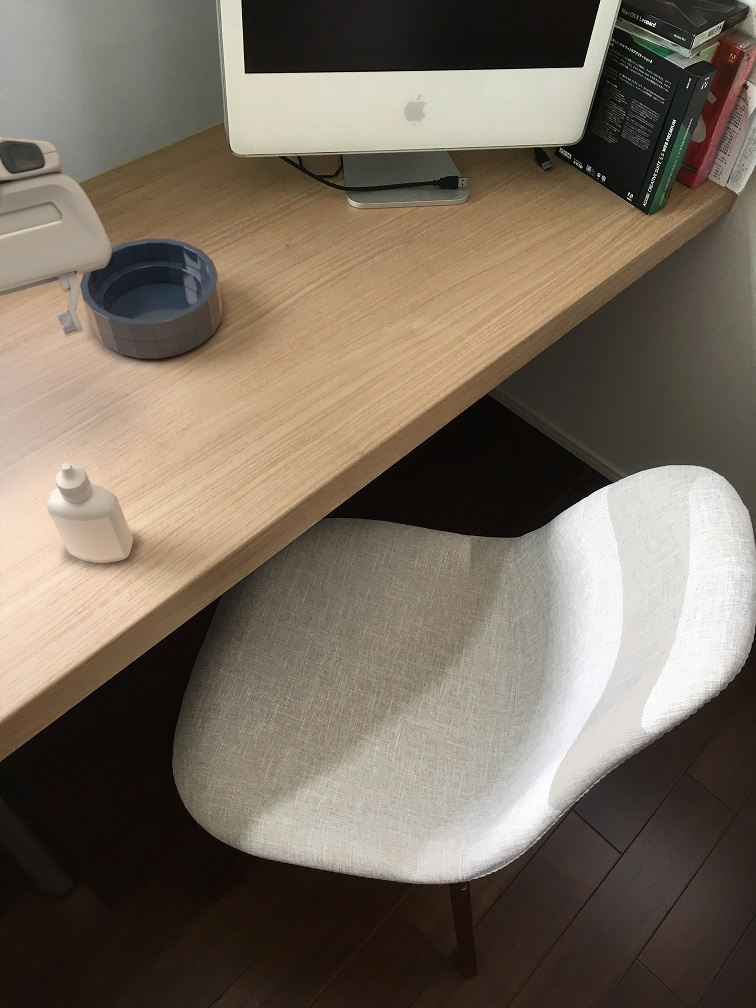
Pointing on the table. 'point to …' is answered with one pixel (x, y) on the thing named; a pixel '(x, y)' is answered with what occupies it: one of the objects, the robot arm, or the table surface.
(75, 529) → the eye dropper bottle
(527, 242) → the table surface
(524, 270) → the table surface
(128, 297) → the bowl
